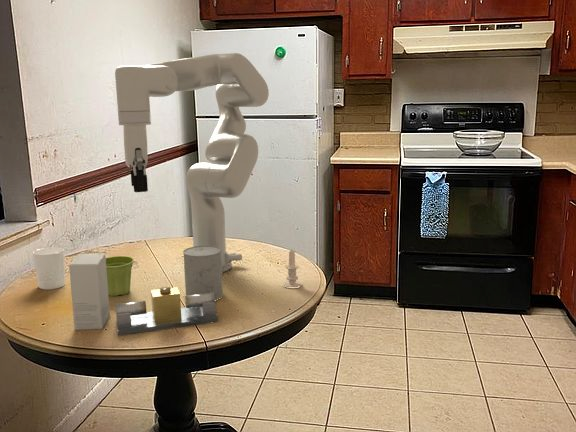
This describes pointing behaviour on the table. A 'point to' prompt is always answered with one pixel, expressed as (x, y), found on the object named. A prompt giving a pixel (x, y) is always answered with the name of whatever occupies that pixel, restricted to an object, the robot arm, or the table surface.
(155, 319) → the coupler
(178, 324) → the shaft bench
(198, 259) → the grey can
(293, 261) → the candle
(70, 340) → the table surface
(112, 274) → the plant pot
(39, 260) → the white cup
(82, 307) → the skincare box
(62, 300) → the table surface
